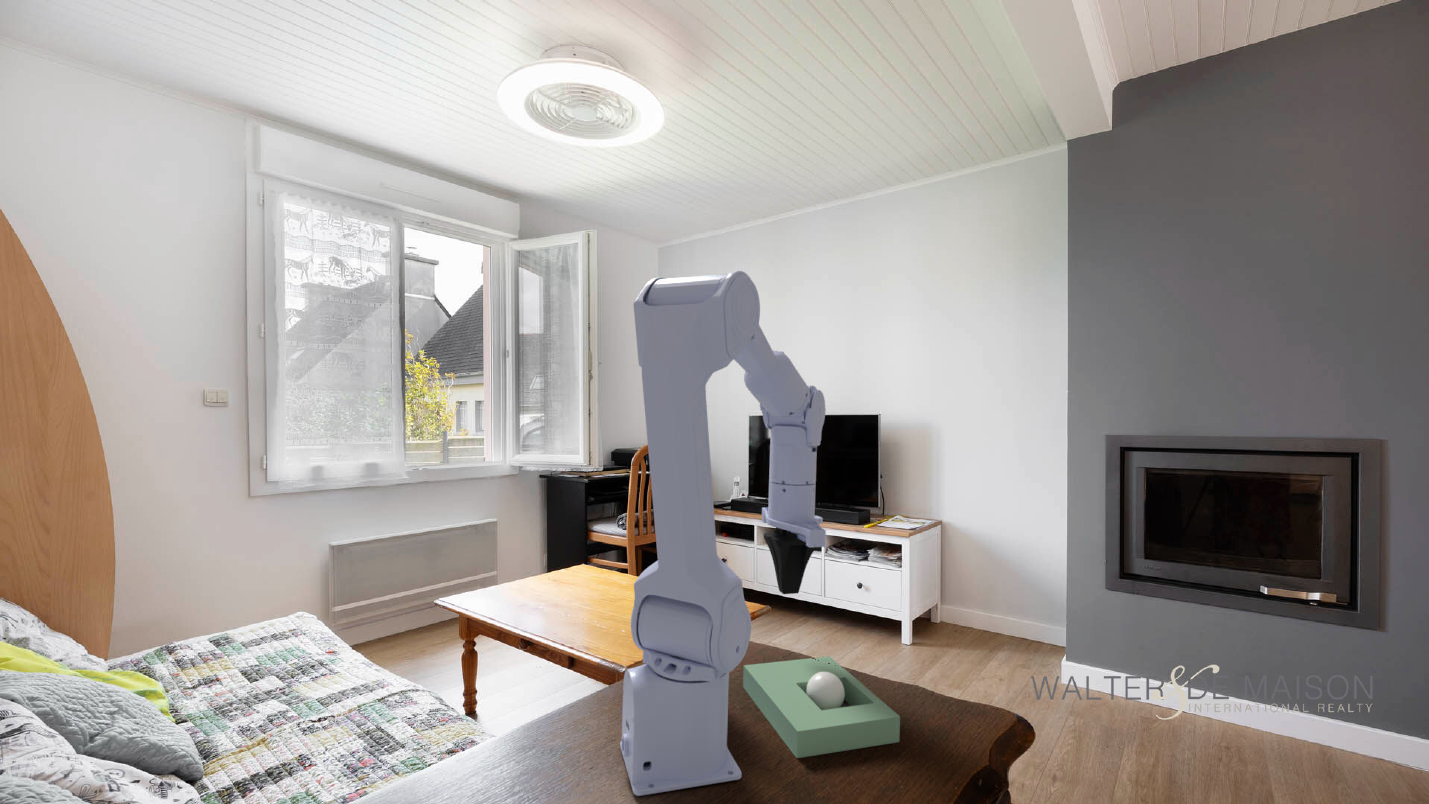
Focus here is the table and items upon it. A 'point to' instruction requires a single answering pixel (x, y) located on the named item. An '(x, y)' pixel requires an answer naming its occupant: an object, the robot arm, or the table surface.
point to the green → (804, 721)
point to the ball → (826, 690)
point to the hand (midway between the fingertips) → (788, 592)
